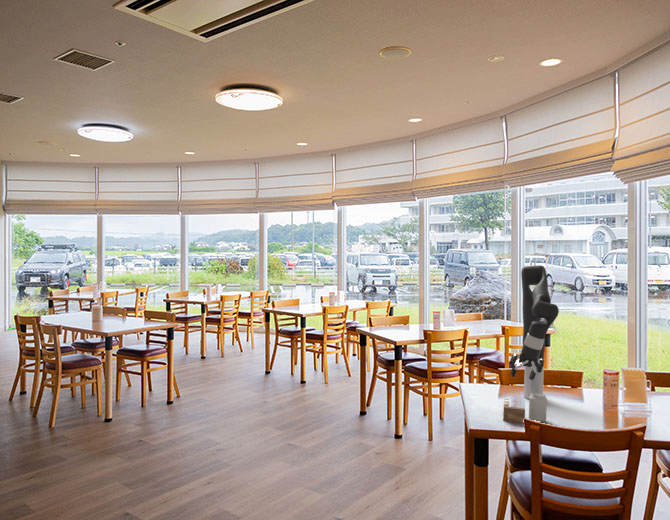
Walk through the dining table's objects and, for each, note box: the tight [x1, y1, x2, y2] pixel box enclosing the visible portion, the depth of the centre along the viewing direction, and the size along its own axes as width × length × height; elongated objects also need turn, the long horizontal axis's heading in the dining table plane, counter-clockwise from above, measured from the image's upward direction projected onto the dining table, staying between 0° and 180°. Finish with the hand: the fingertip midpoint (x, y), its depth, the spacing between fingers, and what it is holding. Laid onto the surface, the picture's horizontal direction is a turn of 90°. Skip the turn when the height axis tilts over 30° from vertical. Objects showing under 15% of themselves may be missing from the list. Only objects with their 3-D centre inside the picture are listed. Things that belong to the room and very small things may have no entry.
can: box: [528, 393, 548, 423], centre depth 229 cm, size 8×8×12 cm
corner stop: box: [502, 398, 526, 424], centre depth 232 cm, size 14×9×7 cm, turn 160°
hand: (521, 377), depth 223 cm, fingers open, 8 cm apart
